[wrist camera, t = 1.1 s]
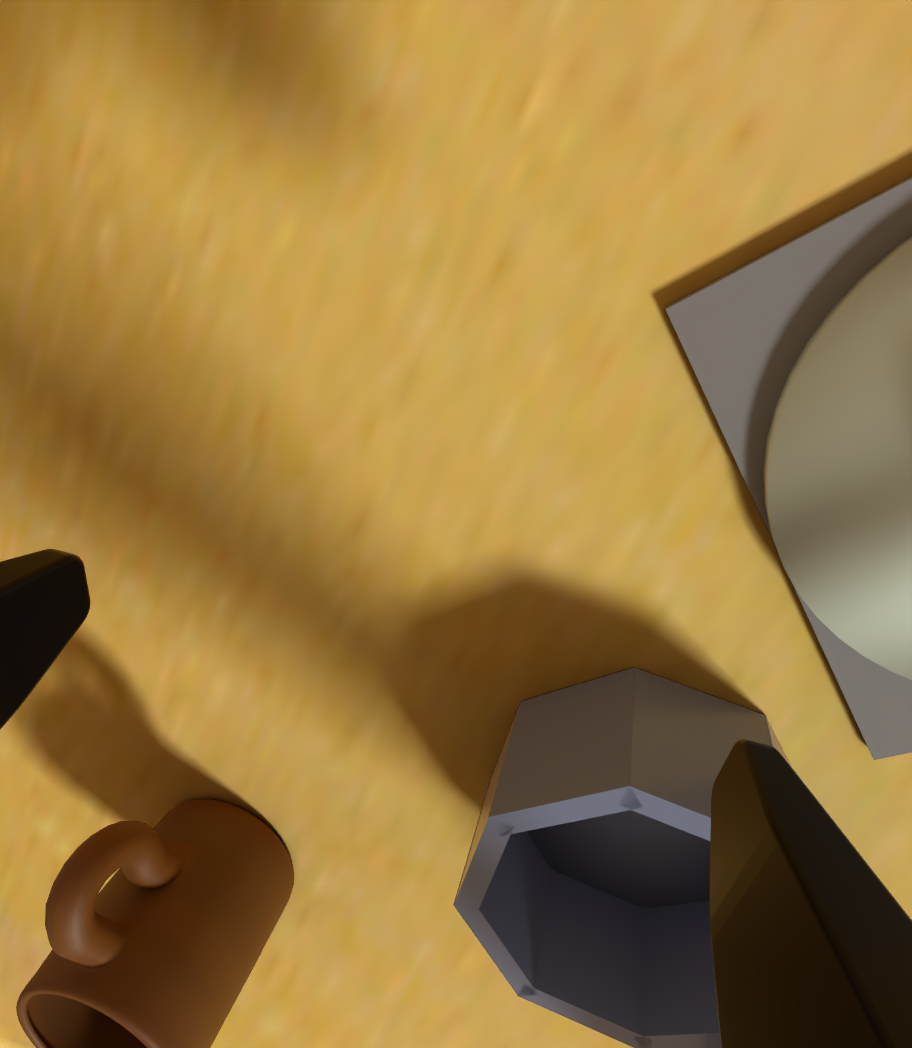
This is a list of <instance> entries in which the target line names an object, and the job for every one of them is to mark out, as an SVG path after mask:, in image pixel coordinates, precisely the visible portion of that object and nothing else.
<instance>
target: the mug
mask: <svg viewBox="0 0 912 1048" xmlns="http://www.w3.org/2000/svg"><path fill="white" fill-rule="evenodd" d="M120 867H121V868H120ZM119 868H120V869H119ZM117 869H119V870H118V871H117V872H116V873H115V875H114V876H113V877H112V878H111V879H110V881H109V882H108V883H107V884H106V885H105V887H104V888H103V889H102V890H101V891H100V889H101V887H102V886H103V884H104V883H105V881H106V880H107V879H108V878H109V877H110V876H111V875H112V874H113V873H114V872H115V871H116V870H117ZM293 885H294V870H293V864H292V861H291V858H290V856H289V853H288V852H287V850H286V848H285V846H284V845H283V843H282V842H281V840H280V839H279V838H278V836H277V835H276V834H275V833H274V832H273V831H272V830H271V829H270V828H269V827H268V826H267V825H266V824H265V823H263V822H262V821H261V820H260V819H258V818H257V817H255V816H254V815H252V814H251V813H249V812H247V811H246V810H244V809H242V808H239V807H237V806H235V805H232V804H229V803H226V802H222V801H217V800H211V799H195V800H191V801H187V802H185V803H182V804H180V805H178V806H176V807H175V808H173V809H172V810H171V811H170V812H168V813H167V814H166V815H165V816H164V817H163V819H162V820H161V821H160V822H159V823H158V824H157V825H156V826H155V827H154V828H153V829H152V828H151V827H150V826H148V825H147V824H145V823H142V822H139V821H120V822H117V823H114V824H111V825H109V826H107V827H105V828H103V829H101V830H100V831H98V832H96V833H95V834H93V835H92V836H90V837H89V838H88V839H87V840H86V841H85V842H83V843H82V844H81V845H80V846H79V847H78V848H77V849H76V850H75V851H74V853H73V854H72V855H71V856H70V857H69V859H68V860H67V861H66V862H65V864H64V865H63V867H62V869H61V871H60V872H59V874H58V876H57V878H56V879H55V881H54V883H53V886H52V888H51V891H50V894H49V897H48V900H47V903H46V915H45V926H46V931H47V935H48V939H49V942H50V945H51V947H52V949H53V950H52V951H51V952H50V954H49V955H48V957H47V958H46V959H45V961H44V962H43V964H42V965H41V967H40V968H39V969H38V971H37V972H36V974H35V975H34V976H33V978H32V979H31V980H30V981H29V983H28V984H27V985H26V987H25V988H24V990H23V991H22V992H21V994H20V996H19V999H18V1002H17V1007H16V1008H17V1016H18V1019H19V1022H20V1024H21V1026H22V1028H23V1030H24V1032H25V1033H26V1035H27V1036H28V1038H29V1039H30V1041H31V1042H32V1043H33V1044H34V1046H35V1047H36V1048H210V1047H211V1045H212V1043H213V1042H214V1040H215V1038H216V1036H217V1034H218V1032H219V1030H220V1029H221V1027H222V1025H223V1023H224V1021H225V1019H226V1017H227V1016H228V1014H229V1012H230V1010H231V1008H232V1006H233V1004H234V1003H235V1001H236V999H237V997H238V995H239V993H240V991H241V990H242V988H243V986H244V984H245V982H246V980H247V978H248V977H249V975H250V973H251V971H252V969H253V967H254V965H255V963H256V962H257V960H258V958H259V956H260V954H261V952H262V950H263V948H264V946H265V944H266V942H267V940H268V938H269V936H270V935H271V933H272V931H273V929H274V927H275V925H276V923H277V922H278V920H279V918H280V916H281V914H282V912H283V910H284V908H285V906H286V904H287V902H288V900H289V898H290V895H291V892H292V888H293ZM99 891H100V893H99ZM98 893H99V894H98Z"/></svg>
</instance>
